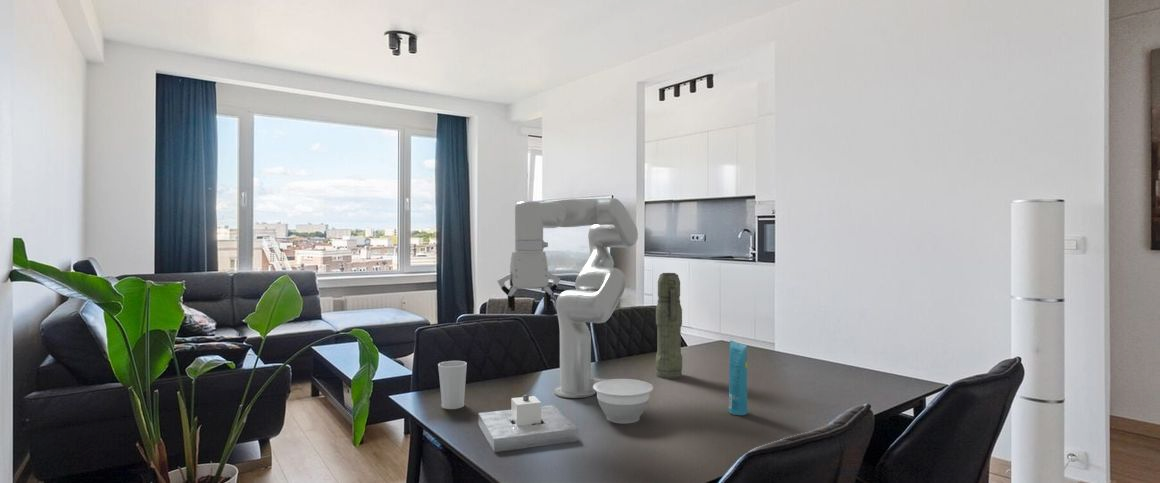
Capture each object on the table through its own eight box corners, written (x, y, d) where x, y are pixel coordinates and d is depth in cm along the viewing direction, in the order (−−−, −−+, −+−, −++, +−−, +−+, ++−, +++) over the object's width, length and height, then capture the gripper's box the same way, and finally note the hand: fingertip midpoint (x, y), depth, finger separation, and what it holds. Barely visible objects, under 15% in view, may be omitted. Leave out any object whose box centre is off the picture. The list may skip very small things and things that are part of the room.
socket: (553, 416, 159) (552, 402, 158) (577, 441, 140) (577, 425, 140) (478, 424, 152) (478, 410, 152) (494, 452, 133) (493, 435, 133)
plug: (534, 421, 150) (534, 391, 149) (541, 428, 144) (540, 397, 144) (511, 424, 148) (511, 393, 147) (516, 431, 142) (516, 399, 142)
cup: (460, 410, 164) (460, 367, 163) (433, 409, 165) (433, 366, 165) (471, 402, 171) (471, 361, 171) (445, 401, 173) (445, 360, 173)
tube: (754, 415, 158) (754, 344, 158) (740, 418, 156) (740, 345, 156) (735, 408, 165) (735, 339, 164) (721, 410, 163) (721, 341, 162)
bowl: (583, 413, 161) (583, 382, 161) (635, 406, 167) (635, 376, 167) (609, 431, 146) (609, 397, 146) (664, 423, 153) (664, 390, 152)
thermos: (663, 380, 195) (663, 274, 194) (650, 372, 206) (650, 272, 206) (688, 379, 197) (688, 274, 196) (674, 370, 209) (673, 271, 208)
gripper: (555, 246, 167) (555, 306, 167) (494, 246, 161) (495, 309, 162) (563, 246, 160) (563, 309, 160) (500, 247, 154) (501, 313, 155)
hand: (529, 309), depth 161 cm, fingers open, 9 cm apart
